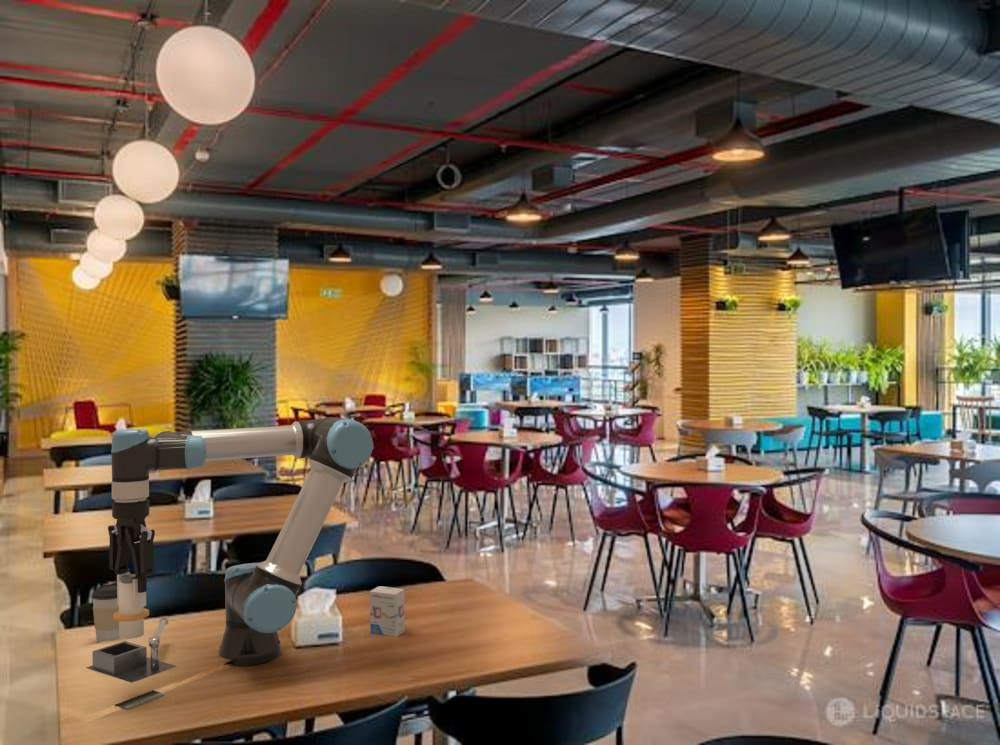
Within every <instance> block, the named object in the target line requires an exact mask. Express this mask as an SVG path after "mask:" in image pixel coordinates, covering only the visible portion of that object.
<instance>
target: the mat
mask: <svg viewBox="0 0 1000 745" xmlns="http://www.w3.org/2000/svg"><path fill="white" fill-rule="evenodd" d="M164 696H165V693H163V692H160V691H157V690H154V689H152V690H150V691H147V692H145V693H142V694H139V695H137V696H135V697H131V698H129V699H126V700H124V701H123V700H122V701H121V702H118V703H115V704H114V706H115V707H118V708H121V709H124V710H131V709H133V708H135V707H139V706H141V705H143V704H146V703H149V702H151V701H154V700H157V699H158V698H162V697H164Z"/></svg>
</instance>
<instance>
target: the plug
mask: <svg viewBox="0 0 1000 745" xmlns="http://www.w3.org/2000/svg"><path fill="white" fill-rule="evenodd" d="M134 576H135V573H130V574H129V575H124V576H122V577H121V581H119V611H118V612H116V613H114V620H116V621H119V638H120V639H123V640H131V639H138V638H141V637H143V636H144V635H145V619H146V618H147V617H149V616H150V609H148V608H146V607H145V606H143V607H139V608H136V609H134V608H133V578H132V577H134Z"/></svg>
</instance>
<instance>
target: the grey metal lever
mask: <svg viewBox="0 0 1000 745" xmlns="http://www.w3.org/2000/svg"><path fill="white" fill-rule="evenodd" d="M167 625H169V617H161V618H160V619H159V623H158V626H157V628H156V630H155V631H154V632H155V633H154V634H153V636H152V637H151V636H150V637H149V638H148V646H149V647H155V646H160V644H161V637H162V634H163V633H164V630H165V628H166V626H167Z"/></svg>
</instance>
